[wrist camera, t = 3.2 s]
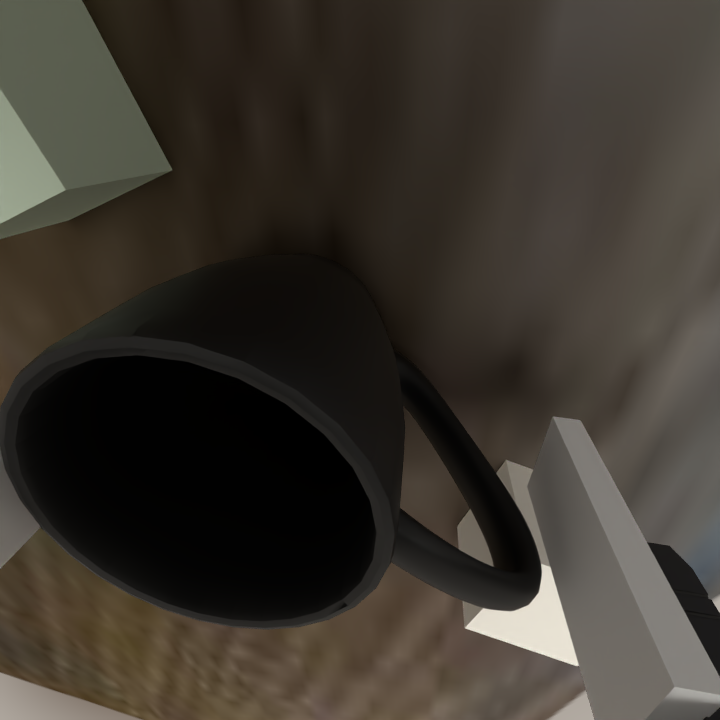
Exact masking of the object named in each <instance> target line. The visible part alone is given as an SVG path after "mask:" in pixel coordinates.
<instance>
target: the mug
mask: <svg viewBox="0 0 720 720" xmlns="http://www.w3.org/2000/svg"><path fill="white" fill-rule="evenodd" d="M403 405H404V407H405V408H406V409H407V410H408V411H409V412H410V414H411V415H412V416H413V418H414V419H415V420H416V422H417V423H418V424H419V426H420V427H421V429H422V430H423V432H424V433H425V435H426V436H427V438H428V439H429V441H430V442H431V444H432V445H433V447H434V448H435V450H436V452H437V453H438V455H439V456H440V458H441V460H442V461H443V463H444V464H445V466H446V468H447V469H448V471H449V473H450V474H451V476H452V478H453V479H454V481H455V483H456V484H457V486H458V488H459V490H460V491H461V493H462V495H463V497H464V498H465V500H466V502H467V504H468V506H469V507H470V509H471V511H472V513H473V515H474V517H475V519H476V521H477V523H478V525H479V527H480V529H481V531H482V534H483V536H484V538H485V541H486V543H487V546H488V548H489V551H490V554H491V558H492V561H493V565H494V567H493V566H490V565H488V564H486V563H484V562H481V561H479V560H477V559H475V558H473V557H472V556H470V555H468V554H466V553H464V552H463V551H461V550H459V549H457V548H456V547H454V546H453V545H451V544H449V543H448V542H446V541H445V540H443V539H442V538H440V537H439V536H437V535H436V534H434V533H433V532H431V531H430V530H429V529H427V528H426V527H424V526H423V525H422V524H420V523H419V522H418V521H416V520H415V519H414V518H412V517H411V516H410V515H408V514H407V513H406V512H405V511H403V510H402V509H401V508H400V498H401V484H402V471H403V457H404V438H405V422H404V412H403ZM0 450H1V454H2V459H3V463H4V468H5V471H6V473H7V475H8V477H9V479H10V481H11V483H12V485H13V487H14V489H15V491H16V493H17V495H18V497H19V499H20V500H21V502H22V503H23V504H24V506H25V507H26V508H27V510H28V511H29V512H30V514H31V515H32V516H33V518H34V519H35V520H36V522H37V523H38V524H39V525H40V527H41V528H42V529H43V530H44V531H45V532H46V533H47V534H48V535H49V536H50V537H51V538H52V539H53V540H54V541H55V542H56V543H57V544H58V545H59V546H60V547H61V548H62V549H64V550H65V551H66V552H67V553H68V554H69V555H70V556H72V557H73V558H74V559H76V560H77V561H78V562H80V563H81V564H82V565H84V566H85V567H86V568H88V569H89V570H90V571H92V572H93V573H94V574H96V575H97V576H99V577H100V578H102V579H104V580H105V581H107V582H109V583H111V584H112V585H114V586H116V587H118V588H119V589H121V590H123V591H125V592H126V593H128V594H130V595H132V596H134V597H136V598H139V599H141V600H143V601H145V602H148V603H150V604H152V605H155V606H157V607H159V608H161V609H164V610H167V611H170V612H173V613H176V614H179V615H183V616H186V617H189V618H192V619H195V620H198V621H204V622H209V623H214V624H219V625H224V626H229V627H237V628H252V629H280V628H293V627H301V626H305V625H309V624H313V623H317V622H321V621H325V620H329V619H331V618H333V617H335V616H337V615H339V614H341V613H343V612H345V611H347V610H349V609H351V608H353V607H355V606H356V605H358V604H359V603H360V602H361V601H362V600H363V599H364V598H365V597H367V596H368V595H369V594H370V593H371V592H372V591H373V590H374V589H376V587H377V586H378V584H379V582H380V580H381V578H382V577H383V575H384V573H385V571H386V570H387V568H388V566H389V564H390V563H391V562H392V563H393V564H395V565H396V566H398V567H400V568H401V569H403V570H405V571H406V572H408V573H410V574H411V575H413V576H415V577H416V578H418V579H420V580H422V581H424V582H425V583H427V584H429V585H431V586H433V587H435V588H437V589H439V590H441V591H443V592H445V593H447V594H449V595H451V596H453V597H455V598H458V599H460V600H462V601H465V602H467V603H470V604H472V605H475V606H478V607H482V608H485V609H490V610H499V611H515V610H518V609H520V608H523V607H525V606H528V605H529V604H530V603H531V602H532V600H533V599H534V598H535V597H536V596H537V594H538V593H539V590H540V584H541V577H542V567H541V561H540V557H539V553H538V550H537V547H536V544H535V541H534V538H533V536H532V534H531V531H530V529H529V527H528V525H527V523H526V521H525V519H524V517H523V515H522V513H521V511H520V510H519V508H518V506H517V505H516V503H515V501H514V500H513V498H512V496H511V495H510V493H509V492H508V490H507V489H506V487H505V486H504V484H503V483H502V481H501V480H500V478H499V477H498V475H497V474H496V472H495V471H494V469H493V468H492V467H491V465H490V464H489V462H488V461H487V459H486V458H485V457H484V455H483V454H482V452H481V451H480V450H479V448H478V447H477V445H476V444H475V442H474V441H473V440H472V438H471V437H470V435H469V434H468V433H467V431H466V430H465V428H464V427H463V426H462V424H461V423H460V421H459V420H458V419H457V417H456V416H455V415H454V413H453V412H452V410H451V409H450V408H449V406H448V405H447V403H446V402H445V401H444V399H443V398H442V397H441V395H440V394H439V393H438V391H437V390H436V389H435V388H434V386H433V385H432V384H431V383H430V381H429V380H428V379H427V378H426V377H425V375H424V374H423V373H422V372H421V371H420V370H419V369H418V368H417V367H416V366H415V365H414V364H413V363H412V362H411V361H410V360H409V359H407V358H406V357H405V356H403V355H402V354H400V353H399V352H397V351H396V350H394V349H393V348H392V345H391V342H390V340H389V337H388V335H387V332H386V330H385V327H384V325H383V322H382V320H381V317H380V315H379V313H378V311H377V309H376V307H375V305H374V302H373V300H372V297H371V295H370V294H369V292H368V291H367V289H366V288H365V286H364V285H363V284H362V282H361V281H360V280H359V279H358V278H357V277H356V276H355V275H353V274H352V273H351V272H350V271H349V270H348V269H346V268H344V267H343V266H341V265H339V264H338V263H336V262H334V261H332V260H329V259H326V258H323V257H320V256H317V255H308V254H295V255H283V254H278V255H264V256H256V257H249V258H241V259H234V260H228V261H224V262H220V263H216V264H212V265H208V266H205V267H202V268H200V269H197V270H194V271H192V272H189V273H186V274H184V275H181V276H179V277H176V278H174V279H171V280H169V281H166V282H164V283H161V284H159V285H157V286H154V287H152V288H150V289H148V290H146V291H144V292H142V293H141V294H139V295H137V296H135V297H134V298H132V299H130V300H128V301H126V302H125V303H123V304H121V305H119V306H118V307H116V308H114V309H113V310H111V311H109V312H107V313H106V314H104V315H102V316H101V317H99V318H97V319H96V320H94V321H92V322H90V323H89V324H87V325H85V326H84V327H82V328H80V329H79V330H77V331H75V332H73V333H72V334H70V335H68V336H67V337H65V338H63V339H62V340H60V341H58V342H56V343H55V344H53V345H51V346H50V347H48V348H47V349H46V350H44V351H43V352H42V353H41V354H40V355H39V356H37V357H36V358H35V359H34V360H33V361H32V362H30V363H29V364H28V365H27V366H26V367H25V368H23V369H22V370H21V371H20V372H19V374H18V375H17V376H16V378H15V380H14V381H13V383H12V385H11V387H10V389H9V391H8V393H7V395H6V397H5V399H4V401H3V403H2V405H1V408H0Z"/></svg>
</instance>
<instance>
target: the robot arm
mask: <svg viewBox="0 0 720 720" xmlns="http://www.w3.org/2000/svg"><path fill="white" fill-rule="evenodd" d="M527 488H528V491H529V495H530V498H531V502H532V505H533V509H534V512H535V516H536V519H537V523H538V526H539V529H540V533H541V536H542V540H543V543H544V547H545V550H546V554H547V557H548V561H549V564H550V567H551V571H552V574H553V578H554V581H555V585H556V588H557V592H558V595H559V599H560V602H561V605H562V609H563V612H564V616H565V619H566V623H567V626H568V630H569V633H570V637H571V640H572V643H573V647H574V650H575V654H576V657H577V661H578V664H579V668H580V671H581V675H582V678H583V681H584V685H585V688H586V692H587V695H588V699H589V702H590V706H591V709H592V713H593V716H594V719H595V720H720V613H719V612H718V610H717V608H716V607H715V605H714V603H713V602H712V600H710V599H708V593H707V592H706V590H705V589H704V587H703V585H702V584H701V582H700V580H699V579H698V577H697V576H696V574H695V572H694V571H693V569H692V568H691V567H690V566H689V565H688V564H687V563H686V562H685V561H684V560H683V559H682V558H681V557H680V556H679V555H678V554H677V553H676V552H675V551H674V550H673V549H672V548H671V547H670V546H667V545H661V544H654V543H648V542H646V540H645V538H644V536H643V534H642V533H641V531H640V529H639V527H638V525H637V523H636V522H635V520H634V518H633V516H632V514H631V512H630V510H629V509H628V507H627V505H626V503H625V501H624V499H623V498H622V496H621V494H620V492H619V490H618V488H617V486H616V485H615V483H614V481H613V479H612V477H611V475H610V474H609V472H608V470H607V468H606V466H605V464H604V463H603V461H602V459H601V457H600V455H599V453H598V451H597V450H596V448H595V446H594V444H593V442H592V440H591V439H590V437H589V435H588V433H587V431H586V429H585V427H584V426H583V424H582V422H581V420H576V419H569V418H561V417H554V416H553V417H552V420H551V422H550V425H549V428H548V431H547V433H546V436H545V439H544V441H543V444H542V447H541V450H540V452H539V455H538V458H537V460H536V463H535V466H534V469H533V471H532V474H531V477H530V480H529V482H528V485H527ZM39 528H40V525H39V524H38V523H37V522H36V520H35V519H34V518H33V516H32V515H31V514H30V512H29V511H28V510H27V508H26V507H25V506H24V504H23V503H22V502H21V500H20V499H19V497H18V495H17V493H16V491H15V489H14V487H13V485H12V483H11V481H10V479H9V477H8V475H7V473H6V471H5V468H4V463H3V459H2V454H1V450H0V568H1V567H2V566H3V565H4V564H5V563H6V562H7V561H8V560H9V559H10V558H11V557H12V556H13V555H14V554H15V553H16V552H17V551H18V550H19V549H20V548H21V547H22V546H23V545H24V544H25V543H26V542H27V541H28V540H29V539H30V538H31V537H32V535H33V534H34V533H35V532H36V531H37V530H38V529H39Z"/></svg>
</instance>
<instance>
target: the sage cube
mask: <svg viewBox="0 0 720 720" xmlns="http://www.w3.org/2000/svg"><path fill="white" fill-rule="evenodd" d="M170 171H172V168H171V166H170V164H169V163H168V161H167V159H166V157H165V155H164V153H163V151H162V149H161V148H160V146H159V144H158V142H157V140H156V138H155V136H154V134H153V133H152V131H151V129H150V127H149V125H148V123H147V121H146V119H145V117H144V116H143V114H142V112H141V110H140V108H139V106H138V104H137V102H136V101H135V99H134V97H133V95H132V93H131V91H130V89H129V87H128V86H127V84H126V82H125V80H124V78H123V76H122V74H121V72H120V71H119V69H118V67H117V65H116V63H115V61H114V59H113V57H112V56H111V54H110V52H109V50H108V48H107V46H106V44H105V42H104V41H103V39H102V37H101V35H100V33H99V31H98V29H97V27H96V25H95V24H94V22H93V20H92V18H91V16H90V14H89V12H88V10H87V9H86V7H85V5H84V3H83V1H82V0H0V239H2V238H6V237H9V236H13V235H17V234H20V233H24V232H28V231H32V230H35V229H39V228H43V227H46V226H50V225H54V224H57V223H61V222H65V221H68V220H71V219H73V218H75V217H77V216H79V215H81V214H83V213H85V212H87V211H89V210H91V209H93V208H95V207H98V206H100V205H102V204H104V203H106V202H108V201H110V200H112V199H114V198H116V197H118V196H120V195H122V194H124V193H126V192H128V191H131V190H133V189H135V188H137V187H139V186H141V185H143V184H145V183H147V182H149V181H151V180H153V179H155V178H157V177H159V176H162V175H164V174H166V173H168V172H170Z"/></svg>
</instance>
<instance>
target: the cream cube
mask: <svg viewBox="0 0 720 720" xmlns="http://www.w3.org/2000/svg"><path fill="white" fill-rule="evenodd" d="M532 471H533V469H530V468H527V467H525V466H522V465H519V464H516V463H513V462H511V461H508V460H505V462H504V463H503V464H502V466H501V467H500V469H499V470H498V471H497V473H496V474H497V475H498V477H499V478H500V480H501V481H502V483H503V484H504V486H505V487H506V489H507V490H508V492H509V493H510V495H511V496H512V498H513V500H514V501H515V503H516V505H517V506H518V508H519V510H520V511H521V513H522V515H523V517H524V519H525V521H526V523H527V525H528V527H529V529H530V531H531V534H532V536H533V538H534V541H535V544H536V547H537V550H538V553H539V557H540V561H541V567H542V577H541V584H540V590H539V593H538V594H537V596H536V597H535V598H534V599H533V600H532V602H531V603H530V604H529V605H528V606H525V607H523V608H520V609H518V610H515V611H499V610H490V609H485V608H482V607H478V606H475V605H472V604H470V603H467V602H465V601H463V613H464V626H465V628H466V629H469V630H472V631H475V632H478V633H481V634H484V635H487V636H490V637H493V638H495V639H498V640H501V641H504V642H507V643H510V644H513V645H516V646H519V647H522V648H525V649H528V650H531V651H534V652H537V653H540V654H543V655H546V656H548V657H551V658H554V659H557V660H560V661H563V662H566V663H569V664H572V665H575V666H578V665H579V664H578V661H577V657H576V654H575V650H574V647H573V643H572V640H571V637H570V633H569V630H568V626H567V623H566V619H565V616H564V612H563V609H562V605H561V602H560V599H559V595H558V592H557V588H556V585H555V581H554V578H553V574H552V571H551V567H550V564H549V561H548V557H547V554H546V550H545V547H544V543H543V540H542V536H541V533H540V529H539V526H538V523H537V519H536V516H535V512H534V509H533V505H532V502H531V498H530V495H529V491H528V488H527V485H528V482H529V480H530V477H531V474H532ZM457 532H458V546H459V550H461V551H463V552H464V553H466V554H468V555H470V556H472V557H473V558H475V559H477V560H479V561H481V562H484V563H486V564H488V565H490V566H493V567H494V565H493V561H492V558H491V554H490V551H489V548H488V546H487V543H486V541H485V538H484V536H483V534H482V531H481V529H480V527H479V525H478V523H477V521H476V519H475V517H474V515H473V513H472V511H471V509H470V510H469V511H468V512H467V514H466V515H465V516H464V518H463V519H462V521H461V522H460V523H459V525H458V526H457Z"/></svg>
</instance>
